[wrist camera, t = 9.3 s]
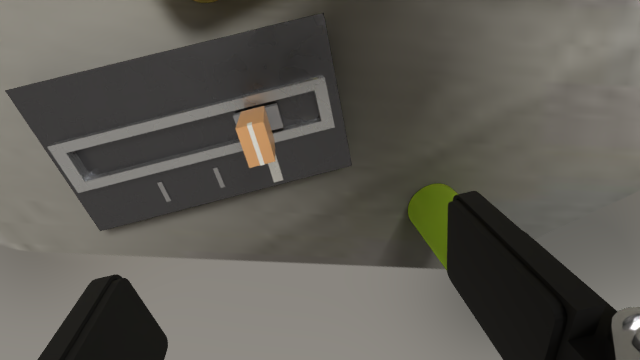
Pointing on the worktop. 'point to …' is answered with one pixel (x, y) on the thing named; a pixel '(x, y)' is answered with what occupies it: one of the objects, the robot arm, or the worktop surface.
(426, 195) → the soap dispenser
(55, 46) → the worktop surface
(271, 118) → the fader knob
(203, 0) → the element tile
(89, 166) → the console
